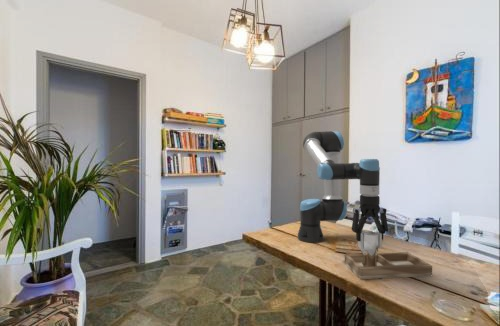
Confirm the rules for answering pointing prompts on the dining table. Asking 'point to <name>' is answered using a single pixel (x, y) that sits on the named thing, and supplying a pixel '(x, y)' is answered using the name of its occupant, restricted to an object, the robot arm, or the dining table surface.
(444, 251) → the dining table surface
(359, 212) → the robot arm
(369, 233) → the metal cup
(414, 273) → the tray
